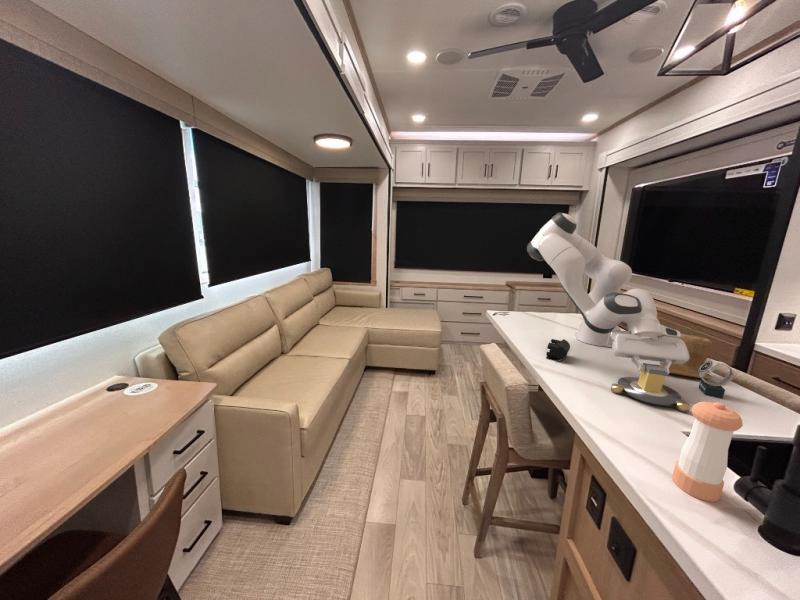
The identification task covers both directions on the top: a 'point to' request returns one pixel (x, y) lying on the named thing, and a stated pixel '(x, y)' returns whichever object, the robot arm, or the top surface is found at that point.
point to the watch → (713, 387)
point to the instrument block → (652, 378)
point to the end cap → (557, 350)
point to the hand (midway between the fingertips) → (653, 372)
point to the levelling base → (650, 394)
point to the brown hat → (692, 357)
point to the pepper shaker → (706, 451)
